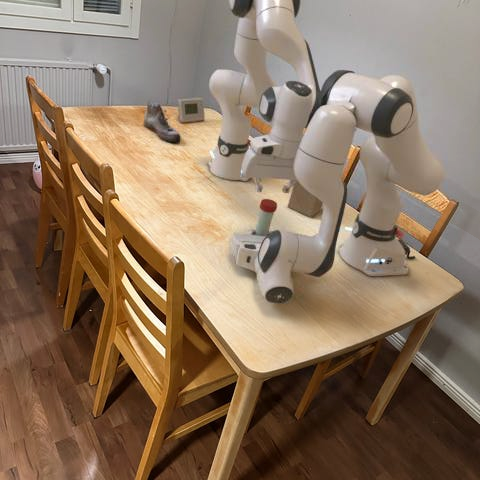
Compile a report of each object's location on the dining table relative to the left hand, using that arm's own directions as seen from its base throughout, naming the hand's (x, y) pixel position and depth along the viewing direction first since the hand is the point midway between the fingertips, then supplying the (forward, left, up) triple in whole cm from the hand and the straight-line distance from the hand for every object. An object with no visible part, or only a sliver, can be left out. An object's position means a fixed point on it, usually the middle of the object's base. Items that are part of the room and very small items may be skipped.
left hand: (271, 191), depth 125 cm
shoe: (-47, -80, -20) cm, 95 cm away
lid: (0, 0, -4) cm, 4 cm away
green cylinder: (0, 0, -20) cm, 20 cm away
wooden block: (-38, -2, -20) cm, 43 cm away
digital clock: (-74, -85, -20) cm, 114 cm away
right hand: (-1, -1, -14) cm, 14 cm away
